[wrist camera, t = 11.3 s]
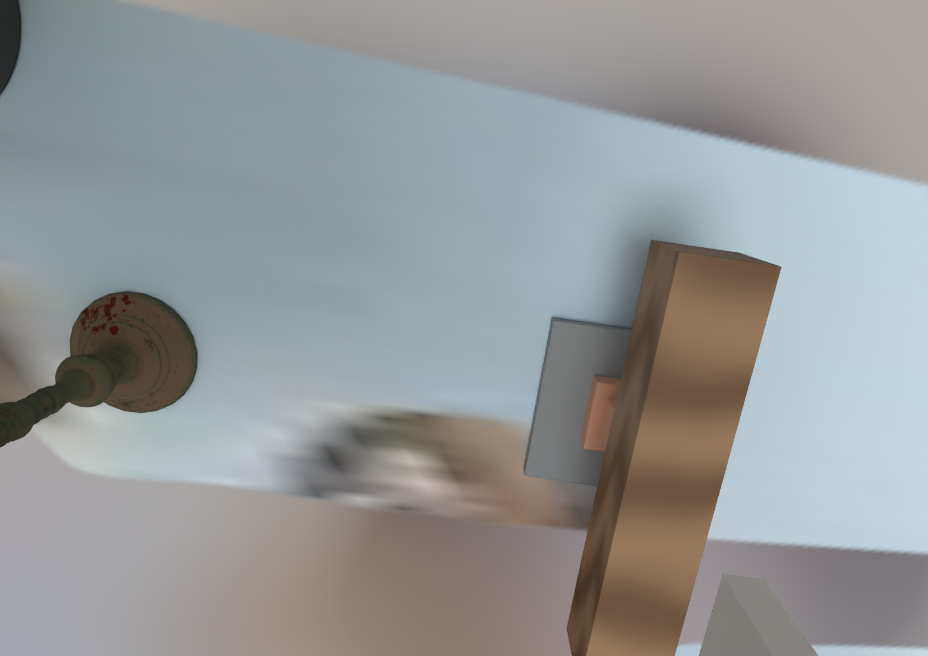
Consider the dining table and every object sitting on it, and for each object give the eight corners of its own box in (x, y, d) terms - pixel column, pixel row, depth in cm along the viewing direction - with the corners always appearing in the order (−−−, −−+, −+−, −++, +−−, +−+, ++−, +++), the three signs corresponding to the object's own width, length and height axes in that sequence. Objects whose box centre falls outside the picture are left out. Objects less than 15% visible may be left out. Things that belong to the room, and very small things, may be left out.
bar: (640, 638, 41) (662, 700, 37) (566, 628, 41) (578, 689, 37) (739, 252, 35) (781, 266, 30) (651, 240, 35) (679, 252, 30)
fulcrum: (523, 469, 47) (532, 528, 40) (552, 317, 44) (567, 349, 37) (679, 491, 47) (718, 554, 40) (718, 341, 44) (768, 379, 37)
